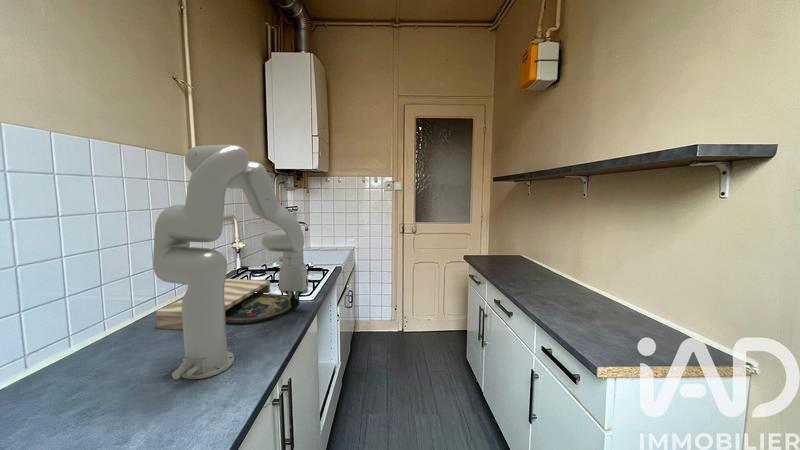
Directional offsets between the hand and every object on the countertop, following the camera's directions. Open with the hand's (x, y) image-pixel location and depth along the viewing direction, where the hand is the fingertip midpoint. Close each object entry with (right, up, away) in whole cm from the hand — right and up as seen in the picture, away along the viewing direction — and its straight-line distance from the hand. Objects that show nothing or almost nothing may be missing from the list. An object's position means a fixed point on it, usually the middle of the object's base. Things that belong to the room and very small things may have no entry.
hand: (294, 307), depth 125 cm
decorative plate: (-16, -2, +1) cm, 16 cm away
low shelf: (-29, -1, +2) cm, 29 cm away
